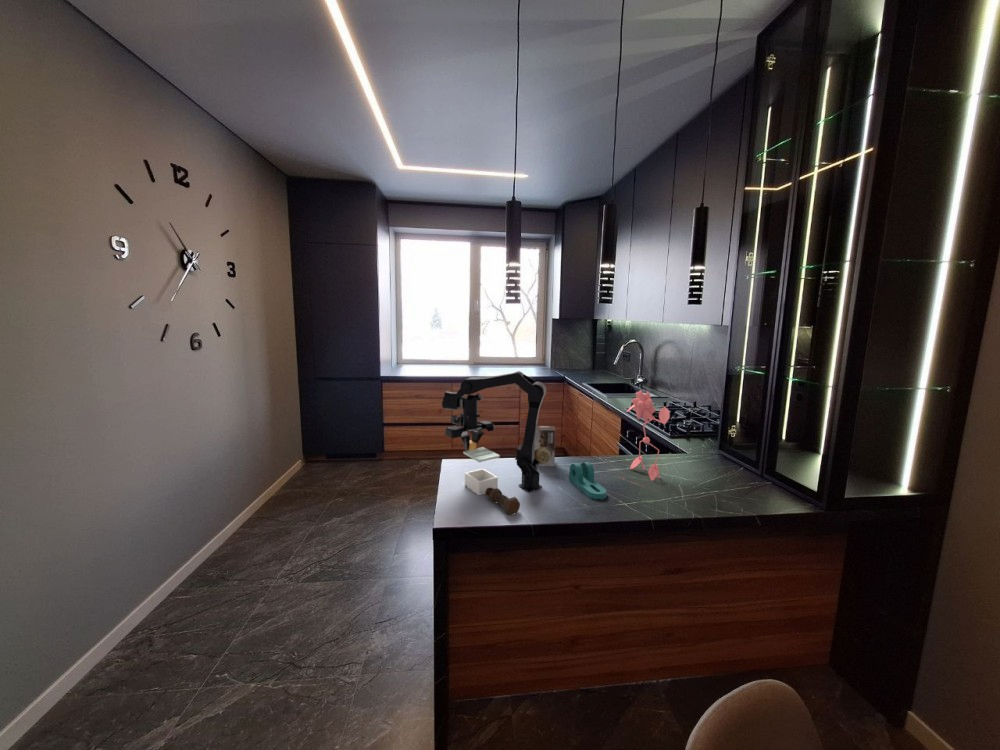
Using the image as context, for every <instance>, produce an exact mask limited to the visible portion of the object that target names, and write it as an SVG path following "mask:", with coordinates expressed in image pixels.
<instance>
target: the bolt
mask: <svg viewBox="0 0 1000 750" xmlns="http://www.w3.org/2000/svg"><path fill="white" fill-rule="evenodd" d="M484 495H486V497H488V499H489V500H490V501H491V503H492V504H499V505H500V506H502V507H503V510H505V513H506V514H507V515H508V514H509V516H512V514H513V515H515V514H517V513H518V512H519V510H520V507H521V503H520V501H519V499H518V498H517V497H515V496H513V497H508V496H507V495H505V494H503V492H502V491H501V489H500V488H496V489H493V488H487V489H486V491H485V494H484ZM496 502H497V503H496ZM514 513H515V514H514Z"/></svg>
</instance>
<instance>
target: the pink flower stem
mask: <svg viewBox="0 0 1000 750" xmlns="http://www.w3.org/2000/svg"><path fill="white" fill-rule="evenodd" d="M631 403H632V405H631V406H630V407H629V408H628V409H627V410H626V411H625V413H628V412H631V410H634V412H635V415H636V418H637V420H640V419H642V420H643V421H644V423H643V424H642V428H643V433H644V437H643V438H642V440H640V441H639V445H638V446H639V449H638V457H636V458H635V459H634V460H633V462H632V463H631V464H630V468H629V469H630V470H633V469H635V468H637V467H638V466H639V465H640V464H641V466H642V468H643V470H644V471H645V470H646V468H645V465H644V463H643V457H642V455H641V443H642V442H643V443H644V444H648V445H650V446H651V447H653V448H654V449H655V450H657V454H656V458H655V462H654V463H653V464H651V465H650V466H649V469H648V477H649V479H650V480H651V482H653V481H654V480H655V479H657V478H658V479H661V477H660V471H659V466H658V465H657V462H658V457H659V453H660V449H659V448H657V447H656V446H654V445H653V444H652V443H650V441H651V439H650V438H649V436H647V434H646V433H647V432H646V429H645V425H646V424H648V423H650V422H651V421H656V422H658V423H661V424H662V425H664V426H665V425H666V424H667V422H668V421H669V420H670V415H671V414H670V410H669V408H667V407H666V406H663V408H660V411H659V412H658V418H659V419H656V417H655V416H653V414H654V413H655V412H656V408H655V407H654V406H653V400H652V399H651V394H650V391H646V393H644V392H643V390H641V389H640V390H639V391H636V392H635V398H633V399H632V400H631ZM621 478H622V479H623V480H626V481H628V482H629V480H628V479H626V478H624V477H623V476H621ZM631 483H632V484H634V485H638V486H639V485H640V486H642V484H641V483H636V482H633V481H631ZM643 486H645V487H647V485H645V484H643Z"/></svg>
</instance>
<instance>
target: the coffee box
mask: <svg viewBox="0 0 1000 750" xmlns="http://www.w3.org/2000/svg"><path fill="white" fill-rule="evenodd" d="M534 449H535V458H536V459H537V460H538V461H539V462H540V466H539V467H555V465H556V464H555V459H556V458H555V454H556V453H555V452H556V450H555V449H556V428H555V425H554V426H553V425H537V427H536V433H535V439H534Z"/></svg>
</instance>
